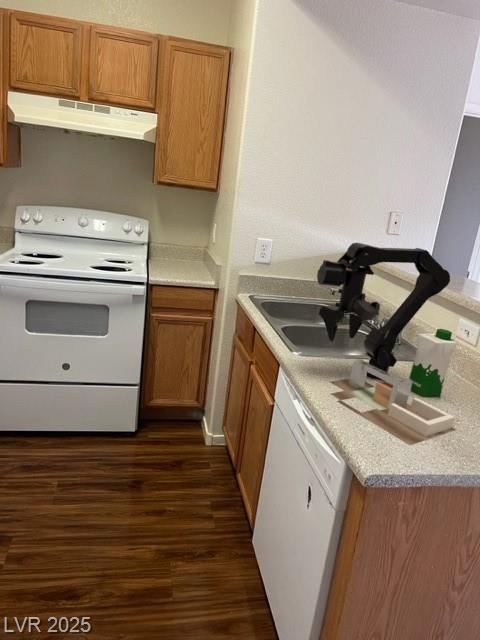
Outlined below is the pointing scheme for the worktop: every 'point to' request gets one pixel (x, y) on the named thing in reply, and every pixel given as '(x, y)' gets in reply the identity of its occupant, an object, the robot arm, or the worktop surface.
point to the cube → (383, 393)
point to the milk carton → (431, 363)
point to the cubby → (434, 425)
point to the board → (381, 413)
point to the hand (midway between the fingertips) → (341, 339)
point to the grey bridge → (399, 386)
